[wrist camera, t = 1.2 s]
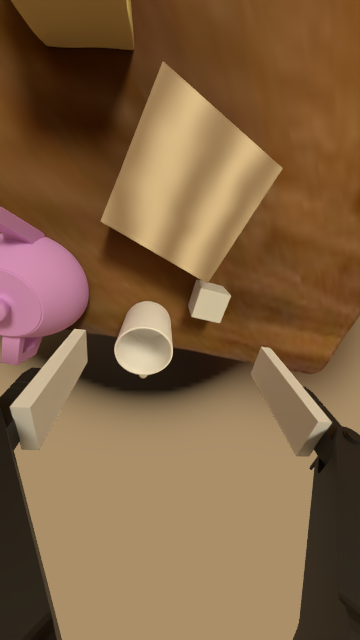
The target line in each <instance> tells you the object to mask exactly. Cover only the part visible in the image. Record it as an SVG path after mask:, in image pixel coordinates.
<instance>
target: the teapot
mask: <svg viewBox="0 0 360 640" xmlns="http://www.w3.org/2000/svg"><path fill="white" fill-rule="evenodd" d="M0 232H1V233H2V234H0V335H2V337H3V338H2V350H1V363H7V364H12V365H19V364H20V363H22V362H24V361H26V360H27V359H29V358H31V357H32V356H34V355H36V353H37V351H38V348H39V345H40V343H41V340H42V338H43V336H47V335H51V334H54V333H57V332H59V331H62V330H64V329H66V328H67V327H69V326H71V325H72V324H73V323H75V322H76V321H77V320H78V319H79V318H80V317H81V316H82V314H83V313H84V311H85V309H86V307H87V304H88V299H89V287H88V281H87V278H86V275H85V273H84V271H83V269H82V267H81V265H80V264H79V262H78V261H77V260H76V258H75V257H74V256H73V255H72V254H71V253H70V252H69V251H68V250H66V249H65V248H64V247H63V246H61V245H60V244H58V243H57V242H55V241H53V240H51V239H49V238H47V237H45V236H44V233H43V232H41V231H39V230H38V229H36V228H34V227H33V226H31V225H30V224H28V223H26V222H25V221H23V220H22V219H20V218H18V217H17V216H15V215H13V214H12V213H10V212H9V211H7V210H5V209H4V208H2V207H0Z"/></svg>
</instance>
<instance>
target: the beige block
mask: <svg viewBox="0 0 360 640" xmlns="http://www.w3.org/2000/svg"><path fill="white" fill-rule="evenodd" d="M230 297H231V295H230V294H229V293H228V292H227V290H226V289H225V288H224V287H223V286H220V285H216V284H212V283H206V282H204V281H201V280H197V279H196V282H195V285H194V288H193V291H192V294H191V298H190V301H189V304H188V307H189V310H190V314H191V317H194V318H199V319H203V320H208V321H212V322H217V323H220V322H221V319H222V317H223V314H224V312H225V309H226V307H227V304H228V302H229V300H230Z"/></svg>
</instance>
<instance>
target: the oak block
mask: <svg viewBox="0 0 360 640" xmlns="http://www.w3.org/2000/svg"><path fill="white" fill-rule="evenodd" d="M281 170H282V167H281V166H279V165H278V164H277V163H276V162H275V161H274V160H273V159H272V158H271V157H269V156H268V155H267V154H266V153H265V152H264V151H263V150H262V149H260V148H259V147H258V146H257V145H256V144H255V143H254V142H253V141H252V140H250V139H249V138H248V137H247V136H246V135H245V134H244V133H243V132H241V131H240V130H239V129H238V128H237V127H236V126H235V125H234V124H233V123H231V122H230V121H229V120H228V119H227V118H226V117H225V116H224V115H222V114H221V113H220V112H219V111H218V110H217V109H216V108H215V107H213V106H212V105H211V104H210V103H209V102H208V101H207V100H206V99H205V98H203V97H202V96H201V95H200V94H199V93H198V92H197V91H196V90H194V89H193V88H192V87H191V86H190V85H189V84H188V83H187V82H186V81H184V80H183V79H182V78H181V77H180V76H179V75H178V74H177V73H175V72H174V71H173V70H172V69H171V68H170V67H169V66H168V65H167V64H165V63H164V62H163V63H162V65H161V68H160V70H159V73H158V75H157V78H156V80H155V83H154V86H153V88H152V91H151V93H150V96H149V98H148V101H147V104H146V106H145V109H144V111H143V114H142V116H141V119H140V122H139V124H138V127H137V129H136V132H135V134H134V137H133V139H132V142H131V145H130V147H129V150H128V152H127V155H126V157H125V160H124V163H123V165H122V168H121V170H120V173H119V175H118V178H117V181H116V183H115V186H114V188H113V191H112V193H111V196H110V198H109V201H108V204H107V206H106V209H105V211H104V214H103V216H102V219H101V222H103V223H104V224H106V225H108V226H110V227H111V228H113V229H115V230H116V231H118V232H120V233H122V234H123V235H125V236H127V237H128V238H130V239H132V240H134V241H135V242H137V243H139V244H140V245H142V246H144V247H146V248H147V249H149V250H151V251H152V252H154V253H156V254H158V255H159V256H161V257H163V258H164V259H166V260H168V261H170V262H171V263H173V264H175V265H177V266H178V267H180V268H182V269H183V270H185V271H187V272H189V273H190V274H192V275H194V276H195V277H197V278H199V279H201V280H202V281H204V282H206V283H208V282H209V280H210V279H211V277H212V275H213V274H214V272H215V271H216V269H217V268H218V266H219V265H220V263H221V262H222V260H223V259H224V257H225V256H226V254H227V253H228V251H229V249H230V248H231V246H232V245H233V243H234V242H235V240H236V239H237V237H238V236H239V234H240V233H241V231H242V230H243V228H244V227H245V225H246V223H247V222H248V220H249V219H250V217H251V216H252V214H253V213H254V211H255V210H256V208H257V207H258V205H259V204H260V202H261V200H262V199H263V197H264V196H265V194H266V193H267V191H268V190H269V188H270V187H271V185H272V184H273V182H274V181H275V179H276V178H277V176H278V174H279V173H280V171H281Z"/></svg>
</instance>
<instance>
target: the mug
mask: <svg viewBox="0 0 360 640" xmlns="http://www.w3.org/2000/svg"><path fill="white" fill-rule="evenodd" d="M114 353H115V357H116V359H117V361H118V363H119V364H120V365H121V366H122V367H123V368H124V369H126V370H127V371H129V372H132V373H134V374H139V376H140V377H141V378H145V377H147V375H150V374H154V373H157V372H159V371H161V370H163V369H164V368H165V367H166V366H167V365H168V364H169V362H170V361H171V358H172V355H173V346H172V333H171V321H170V317H169V314H168V312H167V311H166V309H165V308H164V307H163V306H161V305H160V304H158V303H155V302H151V301H144V302H140V303H137V304H135V305H134V306H133V307H131V308H130V310H129V311H128V313H127V314H126V317H125V319H124V322H123V325H122V327H121V330H120V333H119V335H118V338H117V341H116V343H115V348H114Z"/></svg>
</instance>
